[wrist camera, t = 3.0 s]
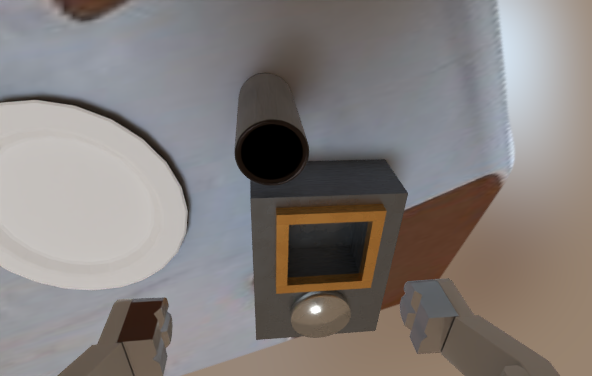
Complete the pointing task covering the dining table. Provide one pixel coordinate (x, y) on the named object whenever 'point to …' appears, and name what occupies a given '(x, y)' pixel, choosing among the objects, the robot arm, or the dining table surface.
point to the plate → (83, 198)
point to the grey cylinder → (269, 132)
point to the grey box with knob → (324, 248)
